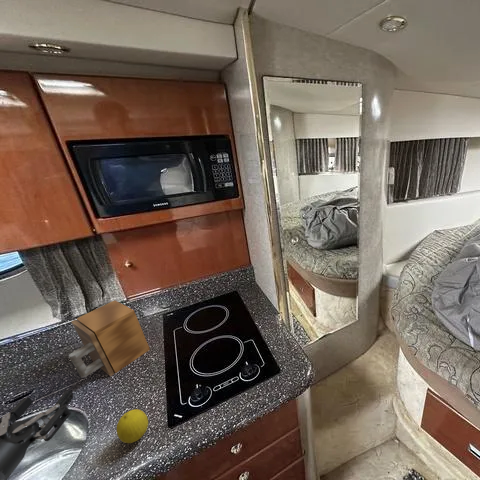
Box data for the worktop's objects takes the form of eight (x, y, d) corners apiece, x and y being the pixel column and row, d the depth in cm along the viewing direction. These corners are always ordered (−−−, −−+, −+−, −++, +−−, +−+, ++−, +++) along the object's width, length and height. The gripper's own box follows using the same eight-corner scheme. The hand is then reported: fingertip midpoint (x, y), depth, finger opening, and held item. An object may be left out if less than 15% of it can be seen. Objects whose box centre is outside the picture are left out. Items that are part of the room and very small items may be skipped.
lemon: (150, 419, 61) (139, 397, 58) (154, 437, 57) (143, 414, 54) (122, 436, 58) (109, 414, 55) (125, 457, 54) (112, 434, 51)
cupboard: (115, 373, 74) (94, 331, 68) (97, 358, 80) (76, 318, 74) (150, 349, 82) (134, 310, 76) (131, 337, 88) (114, 300, 81)
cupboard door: (90, 390, 69) (65, 347, 63) (72, 373, 75) (48, 332, 69) (114, 373, 74) (93, 332, 68) (96, 358, 79) (75, 319, 73)
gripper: (12, 459, 44) (77, 378, 59) (-86, 480, 42) (6, 391, 57) (33, 482, 47) (89, 400, 62) (-58, 502, 45) (23, 412, 60)
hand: (49, 396), depth 59 cm, fingers open, 8 cm apart
